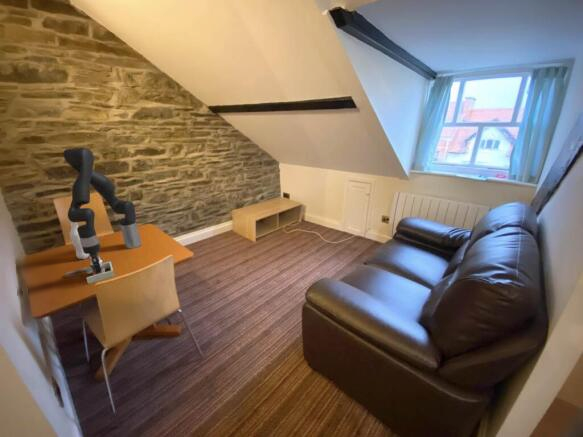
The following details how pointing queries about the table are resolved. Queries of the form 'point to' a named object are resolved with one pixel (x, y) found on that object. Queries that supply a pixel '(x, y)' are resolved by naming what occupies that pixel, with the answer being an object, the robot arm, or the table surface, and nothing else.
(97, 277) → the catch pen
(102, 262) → the pill bottle
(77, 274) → the bar
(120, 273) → the table surface
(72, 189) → the robot arm
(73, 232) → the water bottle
